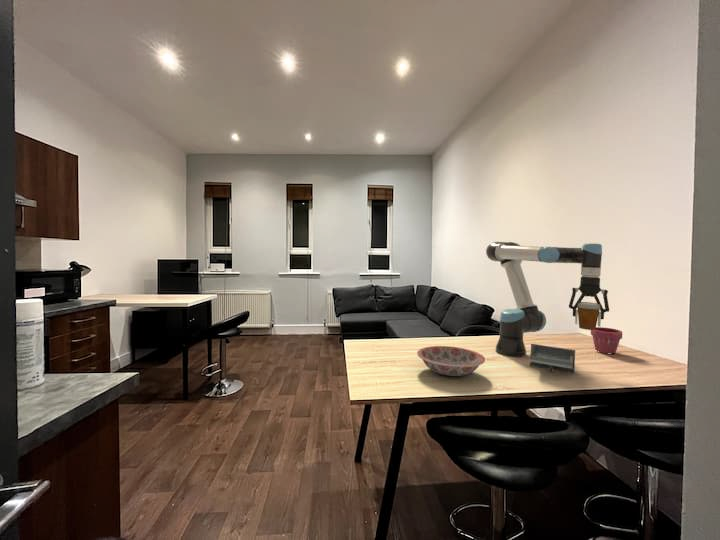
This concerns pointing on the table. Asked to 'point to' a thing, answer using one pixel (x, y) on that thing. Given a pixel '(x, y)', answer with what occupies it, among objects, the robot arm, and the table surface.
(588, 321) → the disposable coffee cup
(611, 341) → the plant pot
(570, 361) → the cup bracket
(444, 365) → the ceramic bowl
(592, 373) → the table surface
